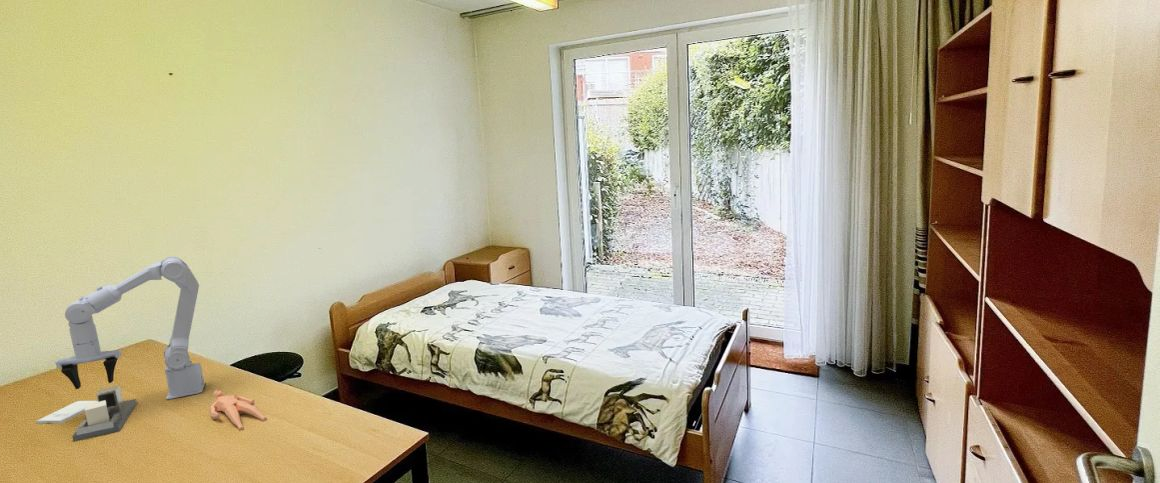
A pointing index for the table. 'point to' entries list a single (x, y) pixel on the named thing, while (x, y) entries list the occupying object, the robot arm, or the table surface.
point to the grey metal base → (116, 412)
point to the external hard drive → (65, 413)
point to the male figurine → (234, 408)
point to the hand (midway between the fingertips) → (94, 384)
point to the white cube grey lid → (97, 413)
